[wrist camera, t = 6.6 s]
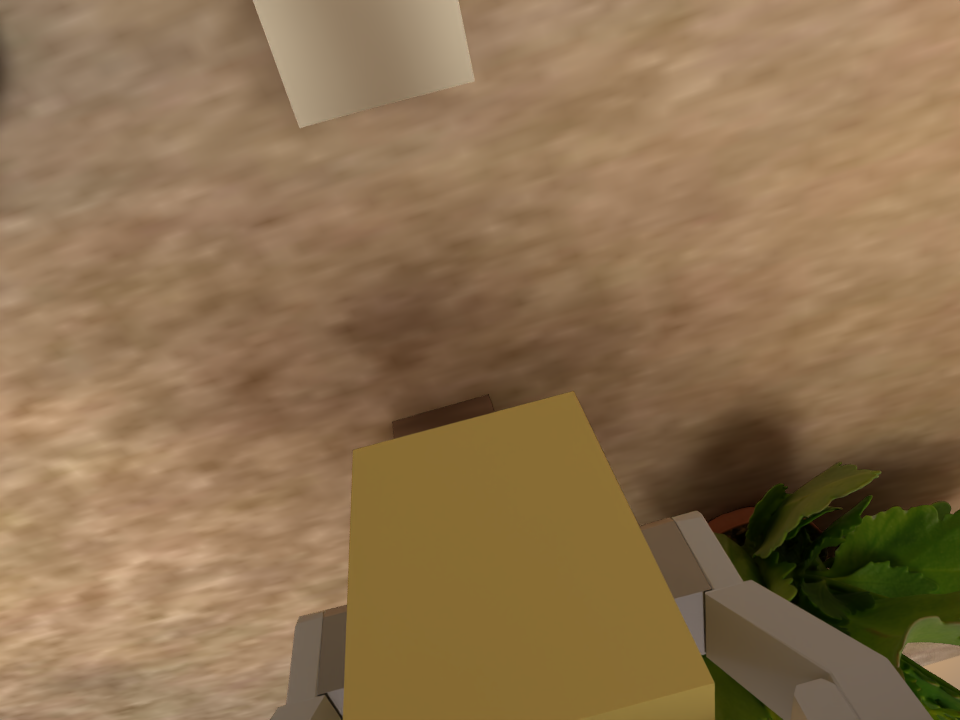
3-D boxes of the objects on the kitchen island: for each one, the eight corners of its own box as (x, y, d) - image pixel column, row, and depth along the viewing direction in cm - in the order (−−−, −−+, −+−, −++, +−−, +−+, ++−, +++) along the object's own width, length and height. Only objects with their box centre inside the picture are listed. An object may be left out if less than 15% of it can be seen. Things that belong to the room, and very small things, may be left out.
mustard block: (573, 390, 12) (714, 683, 7) (598, 540, 15) (716, 835, 10) (352, 450, 12) (340, 784, 7) (414, 589, 15) (437, 911, 10)
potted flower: (747, 697, 47) (923, 1023, 33) (464, 669, 39) (531, 1089, 24) (996, 451, 37) (1424, 771, 22) (681, 340, 28) (1032, 733, 14)
